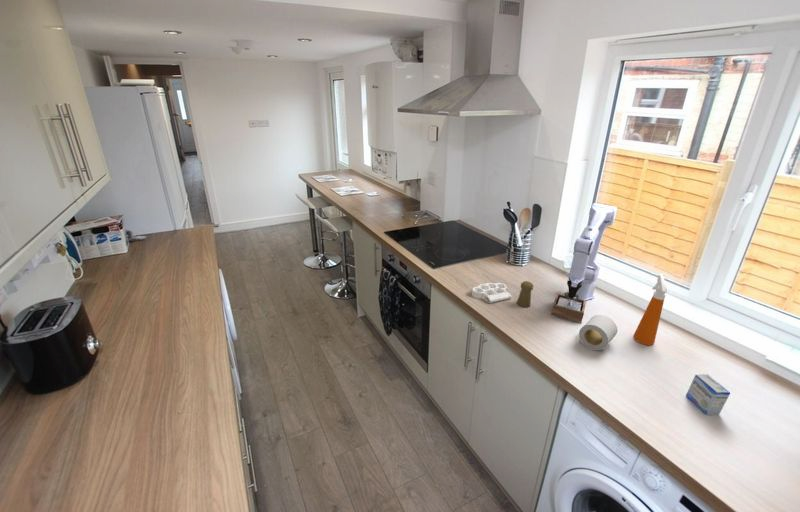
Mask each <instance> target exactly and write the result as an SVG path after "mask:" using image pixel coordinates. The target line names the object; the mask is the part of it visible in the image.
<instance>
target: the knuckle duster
mask: <svg viewBox="0 0 800 512" xmlns="http://www.w3.org/2000/svg"><path fill="white" fill-rule="evenodd" d="M507 288H508V287H507V285H506V284H505V283H502V282H496V283H495V282H494V283H493V282H487V283H481V284H478V285H477V286H474V287H472V290H471V296H472V297H473V298H475V299H482V300H484V301H486V302H487V303H488V304H492V303H496V302H500V301H501V302H502V301H506V300H511V298H512V295H511V293H510V292H508V291H507Z"/></svg>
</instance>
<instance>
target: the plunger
mask: <svg viewBox="0 0 800 512" xmlns="http://www.w3.org/2000/svg"><path fill="white" fill-rule="evenodd" d="M563 295H564V296H565V297H566V298H567V299H566V298H562V297H560V298H559V301H558V304H556V305H559V306H562V307H566V308H570V309H574V310H578V311H581V310H580V309H581V304H582V302H578V301H574V300H578V298H579V296H578V295H575V297H574V298H572V297H569V296H568V292H565V293H564V294H563Z"/></svg>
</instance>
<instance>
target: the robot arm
mask: <svg viewBox="0 0 800 512" xmlns="http://www.w3.org/2000/svg"><path fill="white" fill-rule="evenodd" d="M617 213H618V207H617V206H612V205H606V204H603V203H602V204H601V203H600V204H599V203H596V202H594V203H592V204H591V206H590V209H589V213H588V215H589V222H590V223H589V225H587V226H585V227H584V229H583V230H582V232H581V235H580V236H579V238H576V239H575V241H574V244H573V252H572V253H573V254H572V255H573V257H572V262H571V264H570V265H571V266H570V269H569V272H566V273H565V277H568V280H567V281H566V284H567V287H568V292H567V293H568V296H569V297H572V298H574V297H575V295H578V296H579V298H578V299H582V300H586V301H589V300H592V299H595V296H594V294H595V289H596V287H597V285H596V281H597V280H598V276H599V272H600V265H599V264H598V263H597V262H596V258H597V255H598V252H599V250H600V246H601V243H602V241H603V238H604V237H603V236H604V234H605V231H606V229H607V227H610V226H613V224H614V222H615V219H616V216H617Z"/></svg>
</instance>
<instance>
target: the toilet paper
mask: <svg viewBox="0 0 800 512" xmlns="http://www.w3.org/2000/svg"><path fill="white" fill-rule="evenodd" d="M617 333H618V327H617V324H616V322H615V321H614V320H613V319H612V318H611V317H609V316H607V315H604V314H596V315H594V316H592V317H591V318H590V319H588V321H586V323H585V324H584V325H583V326H582V327H580V329H579V332H578V338H579V340H580V341H581V343H582V344H583V345H584V346H585V347H587V349H590V350H593V351H602V350H604V349H605V348H607V347H608V345H609V344H610V342H612V340H613V339H614V338H615V337H616V336H617Z"/></svg>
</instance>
